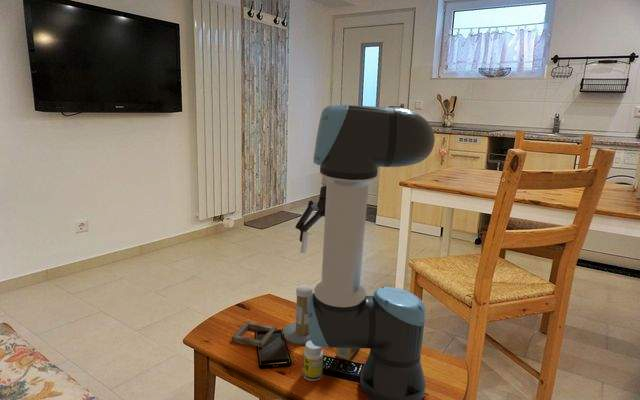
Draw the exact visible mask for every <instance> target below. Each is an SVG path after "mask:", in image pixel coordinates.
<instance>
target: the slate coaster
mask: <svg viewBox="0 0 640 400" xmlns="http://www.w3.org/2000/svg"><path fill="white" fill-rule="evenodd" d="M295 329H296V321H295V322H292V323H289V324H287V325H285V326H284V328H283V329H282V335H283V334H284V337H285V339H286V340H285V339H284V340H285V341H286V342H288V343H290V344H293V345H297V346H299V345H300V346H306V342H308V341H310V340H311V339H310V333H309V334H307V335H300V334H297V333H296V331H295Z"/></svg>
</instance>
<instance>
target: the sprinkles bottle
mask: <svg viewBox="0 0 640 400" xmlns="http://www.w3.org/2000/svg"><path fill="white" fill-rule="evenodd" d="M313 292H314V290H313V287H312V286H311V285H307V284H306V285H305V284H304V285H303V284H301V285H299V286H296V291H295V294H296V304H295V307H296V308H295V322H296V329H295V331H296V333H297V334H300V335H307V334H309V324H308V308H307V298H308V295H309V294H312V293H313Z"/></svg>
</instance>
